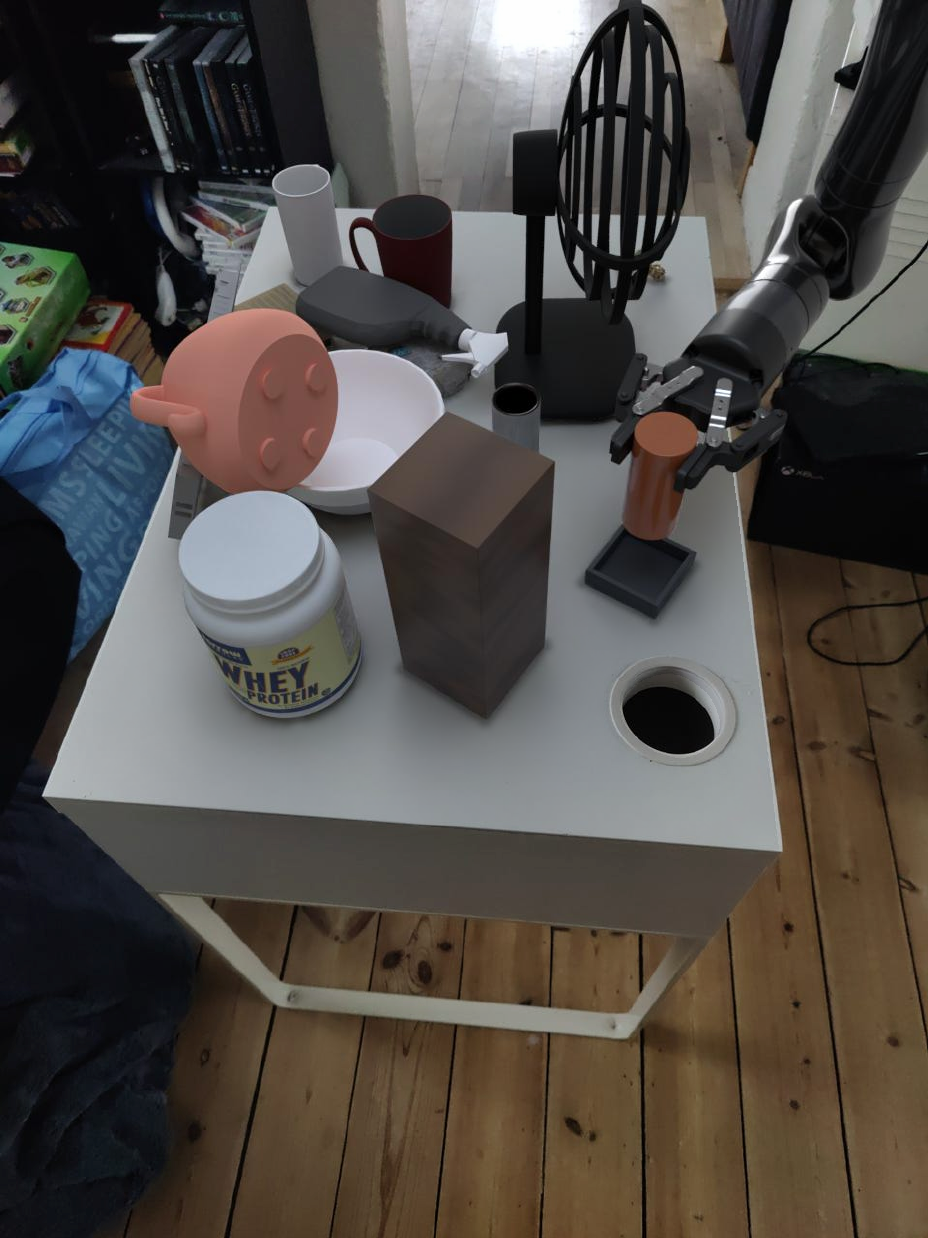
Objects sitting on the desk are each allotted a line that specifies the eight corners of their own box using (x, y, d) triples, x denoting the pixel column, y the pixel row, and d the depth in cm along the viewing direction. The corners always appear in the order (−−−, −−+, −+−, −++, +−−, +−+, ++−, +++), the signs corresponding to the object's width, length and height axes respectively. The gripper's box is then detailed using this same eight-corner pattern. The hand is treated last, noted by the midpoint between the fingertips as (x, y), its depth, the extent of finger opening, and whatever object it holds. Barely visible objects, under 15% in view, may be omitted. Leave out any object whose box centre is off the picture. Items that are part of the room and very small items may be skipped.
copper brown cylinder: (688, 512, 74) (709, 426, 66) (660, 549, 72) (679, 465, 64) (639, 489, 76) (653, 403, 67) (611, 524, 74) (623, 439, 65)
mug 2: (352, 322, 103) (336, 236, 94) (367, 277, 108) (354, 191, 98) (451, 327, 101) (444, 241, 92) (462, 282, 106) (457, 195, 97)
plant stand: (544, 644, 76) (555, 460, 57) (486, 719, 72) (477, 548, 53) (463, 598, 79) (447, 410, 60) (403, 668, 76) (366, 489, 57)
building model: (221, 383, 98) (203, 379, 97) (243, 252, 84) (222, 246, 83) (186, 559, 84) (165, 555, 83) (206, 437, 70) (180, 431, 70)
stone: (442, 310, 98) (487, 358, 93) (442, 344, 101) (485, 392, 96) (319, 350, 93) (359, 403, 88) (324, 384, 97) (363, 437, 92)
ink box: (292, 307, 105) (232, 336, 103) (284, 279, 102) (222, 309, 100) (336, 347, 100) (274, 379, 98) (330, 319, 97) (266, 351, 95)
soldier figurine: (644, 257, 101) (672, 275, 103) (643, 250, 102) (670, 268, 104) (632, 270, 103) (660, 288, 105) (631, 264, 104) (658, 281, 106)
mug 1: (338, 291, 107) (320, 197, 97) (287, 287, 108) (264, 194, 98) (358, 244, 112) (343, 151, 102) (309, 240, 113) (290, 148, 103)
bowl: (421, 393, 95) (414, 331, 88) (473, 520, 84) (469, 460, 78) (248, 435, 93) (227, 374, 86) (279, 570, 82) (258, 513, 75)
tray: (693, 565, 80) (697, 551, 79) (654, 619, 77) (657, 606, 76) (624, 531, 83) (626, 518, 81) (584, 582, 80) (585, 569, 78)
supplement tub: (215, 723, 73) (145, 611, 59) (241, 606, 80) (184, 480, 66) (357, 725, 72) (320, 611, 58) (371, 606, 79) (341, 479, 65)
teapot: (371, 478, 83) (271, 448, 88) (385, 310, 77) (276, 288, 81) (207, 534, 65) (93, 493, 70) (206, 321, 59) (80, 291, 64)
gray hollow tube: (487, 466, 89) (484, 389, 80) (528, 455, 89) (530, 377, 81) (502, 497, 86) (501, 420, 78) (544, 485, 87) (548, 408, 78)
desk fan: (662, 450, 89) (734, 86, 60) (492, 450, 90) (482, 94, 61) (642, 289, 104) (693, -64, 75) (497, 291, 105) (491, -56, 76)
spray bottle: (347, 281, 102) (525, 343, 94) (287, 324, 96) (472, 394, 88) (344, 258, 100) (527, 319, 92) (283, 300, 94) (472, 370, 86)
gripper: (676, 279, 72) (569, 397, 65) (840, 339, 67) (744, 474, 60) (663, 352, 79) (564, 466, 71) (813, 411, 73) (722, 541, 66)
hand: (647, 469), depth 66 cm, fingers closed on copper brown cylinder, 5 cm apart
